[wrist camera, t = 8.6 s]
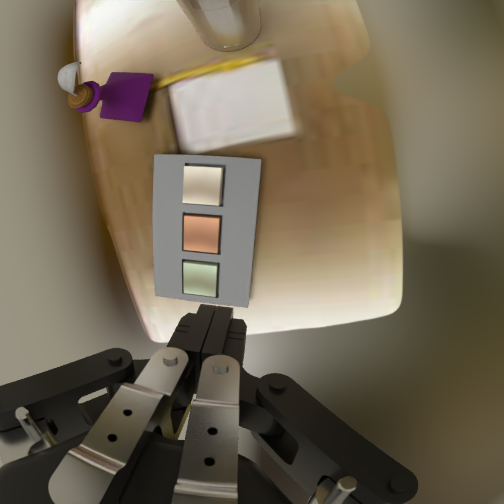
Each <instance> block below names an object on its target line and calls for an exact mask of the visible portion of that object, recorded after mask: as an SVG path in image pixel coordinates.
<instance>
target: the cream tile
mask: <svg viewBox="0 0 504 504" xmlns="http://www.w3.org/2000/svg"><path fill="white" fill-rule="evenodd" d="M223 170H224V167H207V166H184V180H183V203H190V204H203V205H216V206H219V205H220V204H221V199H222V184H223Z"/></svg>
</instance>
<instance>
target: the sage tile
mask: <svg viewBox="0 0 504 504" xmlns="http://www.w3.org/2000/svg"><path fill="white" fill-rule="evenodd" d="M183 274H184V293H188V294H195V295H203V296H211V297H216V294H217V292H218V274H219V263H217V262H207V261H198V260H189V259H186V260H185V261H184V263H183Z"/></svg>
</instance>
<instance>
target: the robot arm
mask: <svg viewBox="0 0 504 504" xmlns="http://www.w3.org/2000/svg"><path fill="white" fill-rule="evenodd" d="M176 1H177V2H178V4H179V5H180V7H181V8H182V10H183V11H184V12H185V14H186V15H187V17H188V18H189V20H190V21H191V23H192V24H193V26H194V27H195V29H196V31H197V32H198V34H199V35H200V37H201V38H202V40H203V41H204V42H205V43H206V44H207V45H208V46H209V47H211V48H213V49H216V50H219V51H235V50H240V49H242V48H244V47H246V46H248V45H249V44H251V43H252V42H253V41H254V40H255V39H256V38H257V36H258V35H259V32H260V28H261V21H260V10H259V1H258V0H176ZM246 330H247V326H246V324H245V322H244V320H242V319H233V308H230V307H222V306H213V305H205V304H201V305H200V307H199V309H198V311H197V313H196V314H194V313H188V314H186V315H185V316H183V317H182V318H181V320H180V321H179V323H178V326H177V327H176V329H175V331H174V333H173V335H172V337H171V339H170V341H169V343H168V345H167V347H166V348H163V349H160V350H158V351H156V352H155V353H154V355H153V356H152V358H151V359H147V360H146V359H145V360H133V359H132V356H131V354H130V353H129V352H128V351H127V350H124V349H121V348H112V349H108V350H105V351H102V352H100V353H97V354H94V355H91V356H89V357H86V358H83V359H80V360H77V361H75V362H72V363H69V364H66V365H63V366H60V367H57V368H54V369H51V370H48V371H45V372H42V373H39V374H36V375H33V376H30V377H27V378H24V379H21V380H18V381H15V382H12V383H8V384H5V385H2V386H0V456H1V460H2V463H3V466H2V467H1V468H0V504H293V503H292V502H291V501H290V500H289V499H288V498H287V497H286V496H285V495H284V494H283V492H282V491H281V490H280V489H279V488H278V487H277V486H276V485H275V484H274V482H273V481H272V480H271V479H270V478H269V477H268V475H267V474H266V473H265V472H264V471H263V470H262V469H261V468H260V467H259V466H258V465H257V464H256V463H254V462H253V461H251V460H250V459H248V458H246V457H244V456H242V455H240V454H238V432H239V426H241V427H243V428H246V429H249V430H251V434H252V435H253V437H254V438H255V439H256V440H257V442H258V443H259V444H260V445H261V446H262V447H263V448H264V449H265V450H266V451H267V453H269V455H270V456H271V457H272V458H273V459H274V460H275V461H276V462H277V463H278V464H279V465H280V466H281V467H282V468H283V469H284V470H285V471H286V472H287V473H288V474H289V475H290V476H291V477H292V478H293V479H294V480H295V481H296V482H297V483H298V484H299V485H300V486H301V487H302V488H303V489H304V490H305V491H306V492H307V493H308V494H309V495H311V498H310V499H309V501H308V504H406V503H407V502H409V501H410V500H411V499H412V498H413V497H414V496H415V494H416V493H417V490H418V480H417V478H416V476H415V475H414V474H413V473H412V472H411V471H410V470H408V469H407V468H405V467H404V466H403V465H401V464H400V463H398V462H397V461H395V460H394V459H393V458H391V457H390V456H388V455H387V454H385V453H384V452H383V451H382V450H380V449H379V448H378V447H376V446H375V445H373V444H372V443H371V442H369V441H368V440H367V439H365V438H364V437H363V436H362V435H360V434H359V433H358V432H356V431H355V430H354V429H352V428H351V427H350V426H349V425H347V424H346V423H345V422H344V421H342V420H341V419H340V418H338V417H337V416H336V415H335V414H333V413H332V412H331V411H330V410H328V409H327V408H326V407H325V406H323V405H322V404H321V403H320V402H319V401H318V400H316V399H315V398H314V397H313V396H312V395H310V394H309V393H308V392H307V391H306V390H304V389H303V388H302V387H301V386H300V385H299V384H297V383H296V382H295V381H294V380H293V379H291V378H290V377H288V376H286V375H283V374H277V373H273V374H272V373H271V374H267V375H265V376H263V377H261V378H257V377H255V376H252V375H250V374H249V373H247V372H246V371H245V370H244V368H243V367H242V365H243V359H244V350H245V340H246ZM105 387H106V389H107V392H108V393H106V394H104V395H101V396H99V397H96V398H94V399H92V400H89V401H86V402H84V403H80V404H79V403H78V401H79V399H80V398H81V397H83V396H85V395H88V394H91V393H93V392H96V391H98V390H100V389H103V388H105ZM194 394H197V395H196V400H193V401H192V398H193V395H194ZM191 401H192V405H191ZM190 409H191V410H190ZM189 412H190V415H189V420H188V426H187V431H186V437H185V440H178V438H179V435H180V433H181V431H182V428H183V426H184V424H185V421H186V419H187V416H188V414H189Z"/></svg>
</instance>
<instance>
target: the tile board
mask: <svg viewBox="0 0 504 504" xmlns="http://www.w3.org/2000/svg"><path fill="white" fill-rule="evenodd" d="M261 165H262V159H253V158H240V157H225V156H207V155H179V154H155V155H154V178H153V259H154V282H155V296H160V297H167V298H174V299H181V300H188V301H196V302H203V303H211V304H219V305H228V306H237V307H246V308H248V305H249V298H250V287H251V276H252V265H253V254H254V243H255V232H256V221H257V210H258V199H259V188H260V176H261ZM184 166H207V167H224V170H223V184H222V199H221V204H220V205H219V206H216V205H203V204H190V203H183V180H184ZM187 213H193V214H206V215H218V216H222V217H221V234H220V249H219V251H218V253H210V252H200V251H191V250H184V216H185V215H186V214H187ZM186 259H189V260H198V261H207V262H217V263H219V274H218V292H217V294H216V297H211V296H203V295H195V294H188V293H184V274H183V263H184V261H185V260H186Z"/></svg>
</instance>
